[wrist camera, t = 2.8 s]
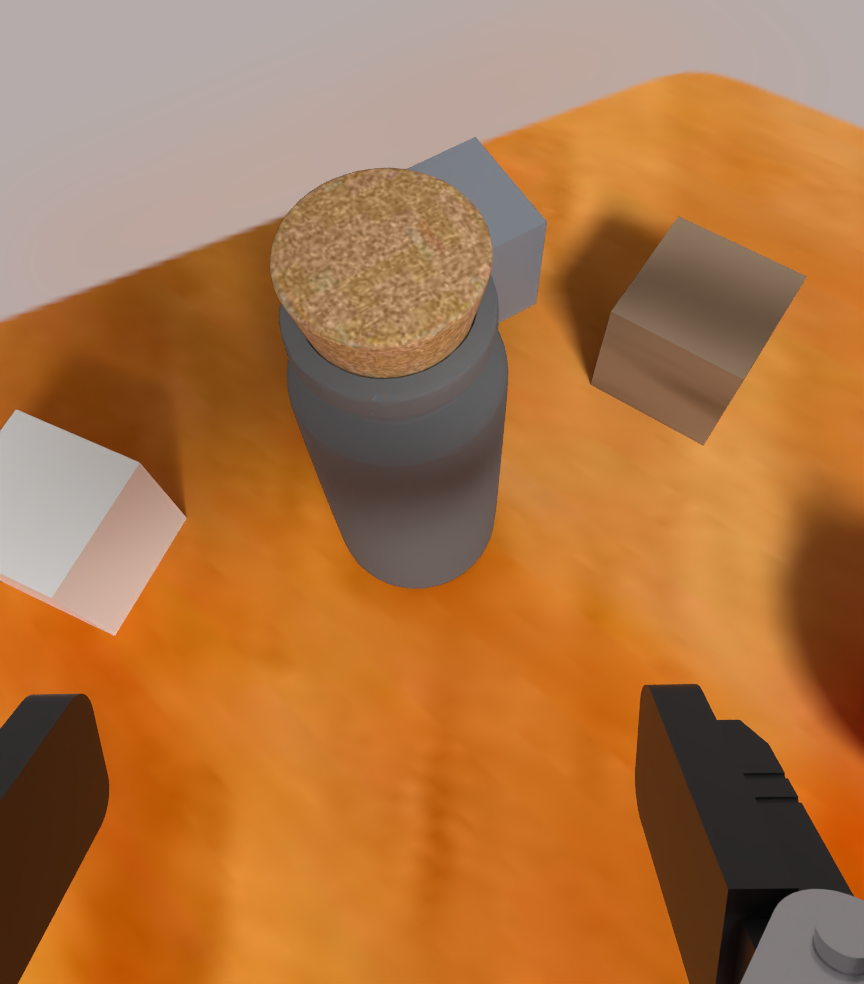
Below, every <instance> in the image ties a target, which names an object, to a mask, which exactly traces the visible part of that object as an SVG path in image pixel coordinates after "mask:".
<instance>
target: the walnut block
mask: <svg viewBox="0 0 864 984" xmlns="http://www.w3.org/2000/svg"><path fill="white" fill-rule="evenodd" d="M806 277H807V276H805V275H803V274H800V273H798V272H796V271H794V270H792V269H790V268H788V267H786V266H783V265H781V264H779V263H777V262H775V261H773V260H771V259H769V258H766V257H764V256H762V255H760V254H758V253H756V252H754V251H751V250H749V249H747V248H745V247H743V246H741V245H739V244H737V243H734V242H732V241H730V240H728V239H726V238H724V237H722V236H719V235H717V234H715V233H713V232H711V231H709V230H707V229H705V228H702V227H700V226H698V225H696V224H694V223H692V222H690V221H688V220H685V219H683V218H681V217H678V218H677V219H676V221H675V222H674V224H673V225H672V226H671V228H670V229H669V231H668V232H667V234H666V235H665V236H664V238H663V239H662V241H661V242H660V243H659V245H658V246H657V248H656V249H655V250H654V252H653V253H652V255H651V256H650V257H649V259H648V260H647V262H646V263H645V264H644V266H643V267H642V269H641V270H640V271H639V273H638V274H637V276H636V277H635V278H634V280H633V281H632V283H631V284H630V286H629V287H628V288H627V290H626V291H625V293H624V294H623V295H622V297H621V298H620V300H619V301H618V302H617V304H616V305H615V307H614V308H613V309H612V311H611V313H610V317H609V321H608V324H607V328H606V331H605V335H604V338H603V342H602V346H601V349H600V353H599V356H598V360H597V363H596V367H595V371H594V374H593V378H592V381H591V385H592V386H594V387H596V388H598V389H600V390H602V391H604V392H605V393H607V394H609V395H611V396H613V397H615V398H616V399H618V400H620V401H622V402H624V403H626V404H628V405H629V406H631V407H633V408H635V409H637V410H639V411H640V412H642V413H644V414H646V415H648V416H650V417H652V418H653V419H655V420H657V421H659V422H661V423H663V424H664V425H666V426H668V427H670V428H672V429H674V430H676V431H677V432H679V433H681V434H683V435H685V436H687V437H688V438H690V439H692V440H694V441H696V442H698V443H700V444H701V445H704V444H705V442H706V440H707V439H708V437H709V435H710V434H711V432H712V431H713V429H714V427H715V426H716V424H717V422H718V421H719V419H720V418H721V416H722V414H723V413H724V411H725V409H726V408H727V406H728V405H729V403H730V401H731V400H732V398H733V397H734V395H735V393H736V392H737V390H738V388H739V387H740V385H741V384H742V382H743V380H744V379H745V377H746V375H747V374H748V372H749V371H750V369H751V367H752V366H753V364H754V362H755V361H756V359H757V358H758V356H759V354H760V353H761V351H762V349H763V348H764V346H765V344H766V343H767V341H768V340H769V338H770V336H771V335H772V333H773V331H774V330H775V328H776V326H777V325H778V323H779V321H780V320H781V318H782V317H783V315H784V313H785V312H786V310H787V308H788V307H789V305H790V303H791V302H792V300H793V298H794V297H795V295H796V294H797V292H798V290H799V289H800V287H801V285H802V284H803V282H804V280H805V279H806Z"/></svg>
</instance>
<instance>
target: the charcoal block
mask: <svg viewBox="0 0 864 984" xmlns="http://www.w3.org/2000/svg"><path fill="white" fill-rule="evenodd" d="M407 170H412V171H417V172H421V173H425V174H428V175H431V176H433V177H436V178H438V179H441V180H443V181H445V182H447V183H448V184H450V185H452V186H453V187H455V188H456V189H458V190H459V191H460V192H462V193H463V194H464V195H465V196H466V197H467V198H468V199H469V200H470V201H471V202H472V203H473V204H474V205H475V206H476V207H477V209H478V210H479V212H480V213H481V215H482V217H483V218H484V220H485V222H486V224H487V226H488V229H489V232H490V236H491V240H492V246H493V260H492V268H491V272H490V274H491V276H492V278H493V281H494V284H495V288H496V291H497V295H498V305H499V320H498V323H500V322H502V321H503V320H505V319H507V318H509V317H511V316H513V315H515V314H517V313H519V312H521V311H523V310H525V309H526V308H528V307H530V306H532V305H534V304H536V300H537V292H538V285H539V278H540V270H541V263H542V255H543V248H544V240H545V233H546V225H547V221H546V220H545V219H544V218H543V217H542V215H541V214H540V213H539V212H538V211H537V209H536V208H535V207H534V206H533V205H532V203H531V202H530V201H529V200H528V199H527V198H526V196H525V195H524V194H523V193H522V192H521V190H520V189H519V188H518V187H517V186H516V185H515V183H514V182H513V181H512V180H511V179H510V177H509V176H508V175H507V174H506V173H505V171H504V170H503V169H502V168H501V167H500V166H499V164H498V163H497V162H496V161H495V160H494V158H493V157H492V156H491V155H490V154H489V152H488V151H487V150H486V149H485V148H484V147H483V145H482V144H481V143H480V142H479V141H478V139H477V138H476V137H474V138H472V139H470V140H468V141H466V142H464V143H462V144H459V145H457V146H455V147H453V148H451V149H449V150H447V151H445V152H442V153H440V154H438V155H436V156H434V157H432V158H430V159H428V160H425V161H423V162H421V163H419V164H417V165H415V166H413V167H411V168H408V169H407Z"/></svg>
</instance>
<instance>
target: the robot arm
mask: <svg viewBox="0 0 864 984" xmlns="http://www.w3.org/2000/svg"><path fill="white" fill-rule="evenodd" d="M635 787H636V798H637V805H638V811H639V815H640V819H641V823H642V826H643V829H644V833H645V836H646V839H647V843H648V846H649V850H650V853H651V856H652V860H653V863H654V866H655V870H656V873H657V876H658V880H659V883H660V886H661V890H662V893H663V896H664V900H665V903H666V906H667V910H668V913H669V917H670V920H671V923H672V927H673V930H674V933H675V937H676V940H677V943H678V947H679V950H680V953H681V957H682V960H683V963H684V967H685V970H686V973H687V977H688V980H689V983H690V984H864V901H863V900H861V899H859V898H856V897H854V895H853V894H852V892H851V890H850V889H849V887H848V885H847V883H846V881H845V880H844V878H843V876H842V874H841V872H840V871H839V869H838V867H837V865H836V864H835V862H834V860H833V858H832V856H831V855H830V853H829V851H828V849H827V848H826V846H825V844H824V842H823V840H822V839H821V837H820V835H819V833H818V831H817V830H816V828H815V826H814V824H813V823H812V821H811V819H810V817H809V815H808V814H807V812H806V810H805V808H804V806H803V805H802V803H799V802H798V796H797V794H796V792H795V790H794V789H793V787H792V785H791V783H790V782H789V780H788V779H785V773H784V771H783V769H782V767H781V765H780V764H779V762H778V760H777V758H776V757H775V755H774V753H773V751H772V749H771V748H770V746H769V744H768V743H767V742H765V741H764V740H763V739H762V738H761V737H759V736H758V735H757V734H756V733H755V732H754V731H752V730H751V729H750V728H749V727H748V726H746V725H745V724H744V723H743V722H742V721H740V720H716V718H715V716H714V714H713V712H712V710H711V708H710V705H709V703H708V701H707V699H706V697H705V695H704V693H703V691H702V689H701V688H700V686H699V685H697V684H673V685H644V686H643V688H642V692H641V699H640V712H639V726H638V739H637V753H636V767H635ZM108 799H109V779H108V774H107V770H106V765H105V761H104V756H103V752H102V747H101V743H100V738H99V734H98V729H97V725H96V721H95V716H94V712H93V708H92V704H91V702H90V700H89V698H88V697H87V696H86V695H84V694H47V695H30V696H28V697H26V698H25V699H24V700H23V701H22V702H21V704H20V705H19V706H18V707H17V709H16V710H15V711H14V712H13V714H12V715H11V716H10V717H9V719H8V720H7V721H6V722H5V724H4V725H3V726H2V727H1V729H0V984H18V982H19V980H20V978H21V977H22V975H23V973H24V971H25V969H26V967H27V965H28V963H29V961H30V960H31V958H32V956H33V954H34V952H35V950H36V948H37V946H38V944H39V942H40V941H41V939H42V937H43V935H44V933H45V931H46V929H47V927H48V925H49V923H50V922H51V920H52V918H53V916H54V914H55V912H56V910H57V908H58V906H59V904H60V903H61V901H62V899H63V897H64V895H65V893H66V891H67V889H68V887H69V886H70V884H71V882H72V880H73V878H74V876H75V874H76V872H77V870H78V868H79V867H80V865H81V863H82V861H83V859H84V857H85V855H86V853H87V851H88V849H89V848H90V846H91V844H92V842H93V840H94V838H95V836H96V834H97V832H98V830H99V829H100V827H101V825H102V822H103V820H104V817H105V814H106V810H107V805H108Z"/></svg>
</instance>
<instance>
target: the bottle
mask: <svg viewBox="0 0 864 984" xmlns="http://www.w3.org/2000/svg"><path fill="white" fill-rule="evenodd" d="M492 260H493V246H492V240H491V236H490V232H489V229H488V226H487V224H486V222H485V220H484V218H483V217H482V215H481V213H480V212H479V210H478V209H477V207H476V206H475V205H474V204H473V203H472V202H471V201H470V200H469V199H468V198H467V197H466V196H465V195H464V194H463V193H462V192H460V191H459V190H458V189H456V188H455V187H453V186H452V185H450V184H448V183H447V182H445V181H443V180H441V179H438V178H436V177H433V176H431V175H428V174H425V173H421V172H417V171H412V170H407V169H396V168H375V169H368V170H361V171H356V172H353V173H349V174H346V175H343V176H340V177H337V178H335V179H332V180H330V181H328V182H326V183H324V184H322V185H320V186H319V187H317V188H316V189H314V190H312V191H311V192H309V193H308V194H307V195H306V196H304V197H303V198H302V199H300V200H299V202H298V203H297V204H296V205H295V206H294V207H293V208H292V209H291V210H290V211H289V213H288V214H287V215H286V217H285V218H284V220H283V221H282V223H281V225H280V226H279V228H278V230H277V233H276V236H275V238H274V241H273V244H272V249H271V256H270V273H271V278H272V283H273V286H274V290H275V292H276V294H277V296H278V298H279V300H280V302H281V303H280V308H279V324H280V329H281V334H282V339H283V342H284V345H285V348H286V351H287V354H288V357H289V360H288V369H287V384H288V392H289V397H290V401H291V405H292V408H293V411H294V414H295V417H296V419H297V422H298V425H299V428H300V431H301V433H302V436H303V439H304V441H305V444H306V446H307V449H308V452H309V454H310V457H311V459H312V462H313V464H314V467H315V470H316V472H317V475H318V477H319V480H320V483H321V485H322V488H323V490H324V493H325V495H326V497H327V500H328V502H329V505H330V507H331V510H332V512H333V515H334V517H335V520H336V522H337V525H338V527H339V529H340V532H341V534H342V537H343V539H344V541H345V544H346V545H347V547H348V549H349V551H350V552H351V554H352V555H353V557H354V558H355V560H356V561H357V562H358V564H359V565H360V566H361V567H362V568H364V569H365V570H366V571H368V572H369V573H370V574H371V575H373V576H374V577H376V578H377V579H380V580H382V581H384V582H386V583H388V584H391V585H394V586H399V587H405V588H428V587H433V586H437V585H441V584H444V583H447V582H449V581H451V580H453V579H455V578H457V577H458V576H460V575H461V574H463V573H464V572H466V571H467V570H468V569H469V568H470V567H471V566H472V565H473V564H474V563H475V562H476V561H477V560H478V559H479V557H480V556H481V555H482V553H483V551H484V550H485V548H486V546H487V544H488V542H489V540H490V537H491V534H492V530H493V525H494V519H495V512H496V504H497V494H498V484H499V474H500V464H501V454H502V444H503V433H504V422H505V412H506V401H507V386H508V363H507V356H506V351H505V347H504V344H503V341H502V338H501V336H500V333H499V331H498V320H499V305H498V295H497V291H496V288H495V284H494V281H493V278H492V276H491V274H490V272H491V268H492Z"/></svg>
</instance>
